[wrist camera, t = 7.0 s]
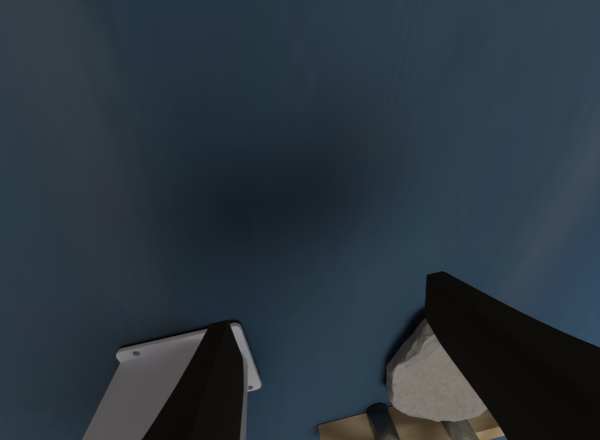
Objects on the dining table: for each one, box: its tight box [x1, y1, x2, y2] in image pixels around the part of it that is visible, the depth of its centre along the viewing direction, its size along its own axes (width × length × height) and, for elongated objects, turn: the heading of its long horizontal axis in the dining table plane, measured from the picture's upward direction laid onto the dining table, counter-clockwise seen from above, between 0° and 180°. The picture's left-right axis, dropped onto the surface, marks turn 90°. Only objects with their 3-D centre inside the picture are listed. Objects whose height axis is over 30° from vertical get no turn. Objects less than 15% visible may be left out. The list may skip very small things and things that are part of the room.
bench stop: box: [318, 403, 504, 440], centre depth 28 cm, size 20×3×5 cm, turn 99°
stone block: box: [386, 318, 487, 422], centre depth 26 cm, size 12×5×10 cm
